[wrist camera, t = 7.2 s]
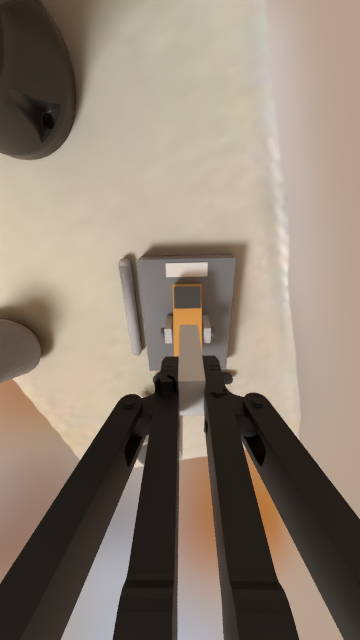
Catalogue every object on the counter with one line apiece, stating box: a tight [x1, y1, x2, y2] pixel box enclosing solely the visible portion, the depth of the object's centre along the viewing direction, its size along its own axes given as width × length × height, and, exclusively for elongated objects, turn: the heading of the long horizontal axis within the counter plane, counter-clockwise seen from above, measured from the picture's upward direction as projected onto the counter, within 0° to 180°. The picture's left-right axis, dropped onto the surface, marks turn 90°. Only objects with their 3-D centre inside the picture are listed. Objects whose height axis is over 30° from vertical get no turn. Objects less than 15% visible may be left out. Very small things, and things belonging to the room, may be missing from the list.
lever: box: [173, 284, 202, 356], centre depth 31 cm, size 14×4×3 cm, turn 1°
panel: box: [137, 254, 236, 371], centre depth 33 cm, size 20×14×8 cm
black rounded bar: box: [153, 374, 233, 384], centre depth 42 cm, size 2×16×2 cm, turn 91°
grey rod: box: [119, 258, 142, 356], centre depth 36 cm, size 18×2×2 cm, turn 1°
